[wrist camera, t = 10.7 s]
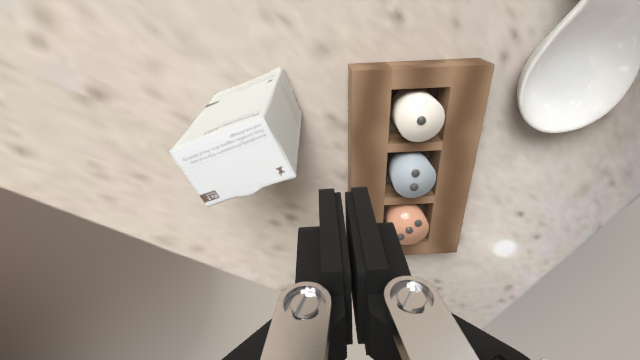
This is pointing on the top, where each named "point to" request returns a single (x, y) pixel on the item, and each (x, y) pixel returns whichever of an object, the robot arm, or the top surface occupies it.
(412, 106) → the one-pip button
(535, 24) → the top surface
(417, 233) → the three-pip button
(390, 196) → the wooden three-slot caddy
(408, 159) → the two-pip button
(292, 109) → the skincare box
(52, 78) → the top surface
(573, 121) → the spoon rest
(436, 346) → the robot arm
